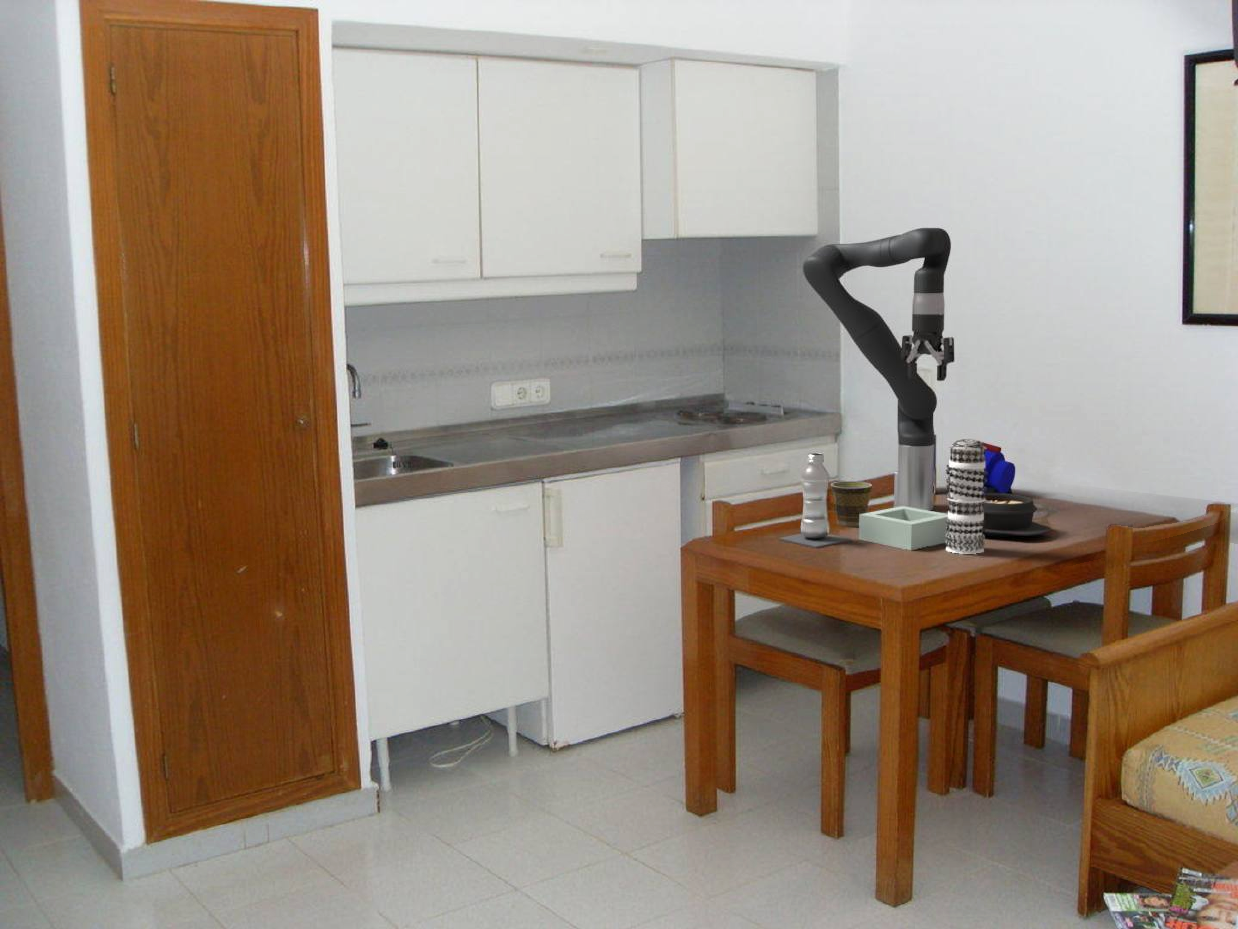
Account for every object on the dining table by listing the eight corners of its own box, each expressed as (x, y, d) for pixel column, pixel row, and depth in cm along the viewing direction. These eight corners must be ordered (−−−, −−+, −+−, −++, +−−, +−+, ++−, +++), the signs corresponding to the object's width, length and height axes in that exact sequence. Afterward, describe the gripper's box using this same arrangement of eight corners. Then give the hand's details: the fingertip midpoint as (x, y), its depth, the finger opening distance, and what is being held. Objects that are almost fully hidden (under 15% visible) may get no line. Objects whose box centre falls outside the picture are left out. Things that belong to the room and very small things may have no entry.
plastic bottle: (830, 541, 302) (831, 456, 299) (801, 541, 303) (801, 456, 300) (828, 535, 308) (829, 452, 305) (799, 535, 309) (800, 452, 306)
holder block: (859, 539, 305) (859, 514, 304) (902, 530, 315) (902, 506, 314) (911, 550, 293) (911, 524, 292) (954, 540, 303) (955, 515, 302)
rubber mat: (778, 539, 306) (778, 538, 306) (814, 532, 314) (814, 531, 314) (816, 548, 297) (816, 546, 297) (851, 540, 304) (851, 539, 304)
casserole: (932, 530, 315) (932, 496, 313) (978, 519, 326) (979, 487, 325) (1021, 547, 296) (1023, 510, 294) (1067, 535, 307) (1068, 500, 306)
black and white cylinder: (935, 550, 293) (938, 440, 289) (959, 544, 299) (962, 436, 295) (970, 557, 286) (973, 444, 282) (993, 550, 292) (997, 440, 288)
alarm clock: (978, 490, 367) (980, 437, 365) (1019, 495, 359) (1021, 441, 356) (957, 496, 358) (959, 442, 356) (998, 501, 350) (1000, 446, 347)
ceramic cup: (869, 520, 327) (870, 481, 326) (873, 528, 317) (873, 488, 316) (817, 520, 329) (817, 481, 327) (819, 528, 319) (819, 488, 317)
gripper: (894, 312, 315) (893, 378, 318) (942, 313, 304) (940, 382, 306) (914, 310, 320) (913, 376, 322) (962, 312, 308) (960, 380, 311)
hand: (926, 379), depth 314 cm, fingers open, 8 cm apart
